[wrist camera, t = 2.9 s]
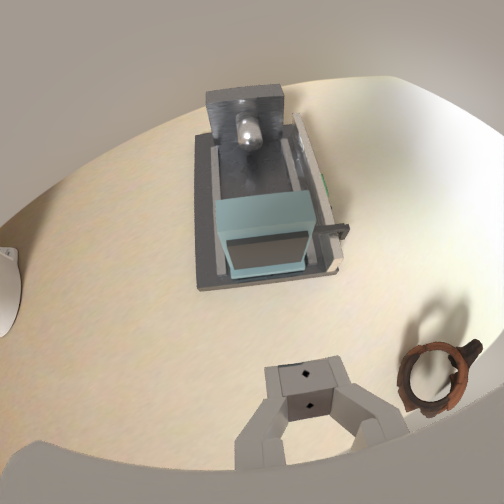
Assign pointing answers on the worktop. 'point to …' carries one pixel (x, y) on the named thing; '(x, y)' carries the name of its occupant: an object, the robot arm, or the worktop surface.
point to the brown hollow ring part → (459, 360)
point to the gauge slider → (268, 232)
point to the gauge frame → (255, 179)
